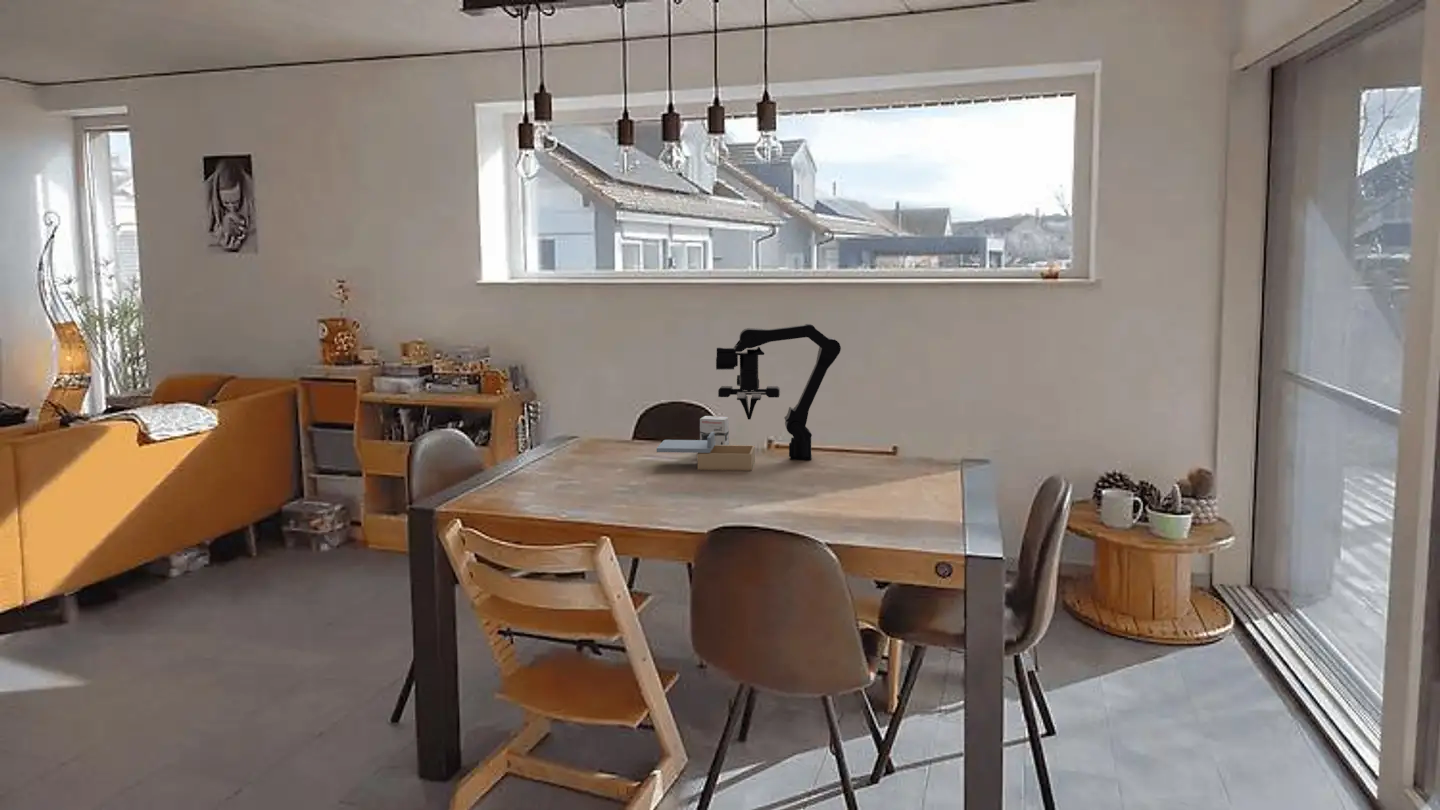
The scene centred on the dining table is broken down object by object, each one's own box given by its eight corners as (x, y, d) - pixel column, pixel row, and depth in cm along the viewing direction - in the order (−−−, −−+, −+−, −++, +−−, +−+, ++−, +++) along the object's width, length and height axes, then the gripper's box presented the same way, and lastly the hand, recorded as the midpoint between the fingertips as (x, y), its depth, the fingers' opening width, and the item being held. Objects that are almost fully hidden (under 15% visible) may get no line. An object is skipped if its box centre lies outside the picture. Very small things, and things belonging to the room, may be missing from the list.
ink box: (699, 454, 335) (698, 418, 333) (704, 451, 339) (703, 415, 338) (724, 455, 332) (724, 419, 330) (729, 452, 337) (729, 416, 335)
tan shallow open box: (755, 461, 322) (754, 445, 322) (751, 470, 309) (751, 454, 308) (703, 460, 324) (703, 444, 323) (697, 470, 310) (697, 453, 310)
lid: (715, 444, 323) (715, 430, 322) (709, 452, 309) (709, 438, 309) (664, 443, 325) (663, 430, 324) (656, 452, 311) (656, 438, 310)
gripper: (780, 366, 329) (780, 415, 332) (721, 366, 331) (722, 415, 334) (778, 370, 318) (778, 421, 321) (717, 370, 320) (718, 420, 323)
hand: (749, 419), depth 325 cm, fingers closed
